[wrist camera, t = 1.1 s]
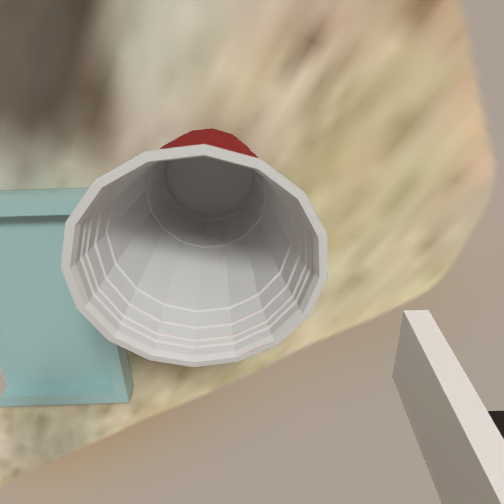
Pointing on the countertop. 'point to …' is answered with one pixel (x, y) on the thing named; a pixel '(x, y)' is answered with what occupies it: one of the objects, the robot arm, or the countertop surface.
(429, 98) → the countertop surface
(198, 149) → the plastic cup
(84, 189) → the tray
